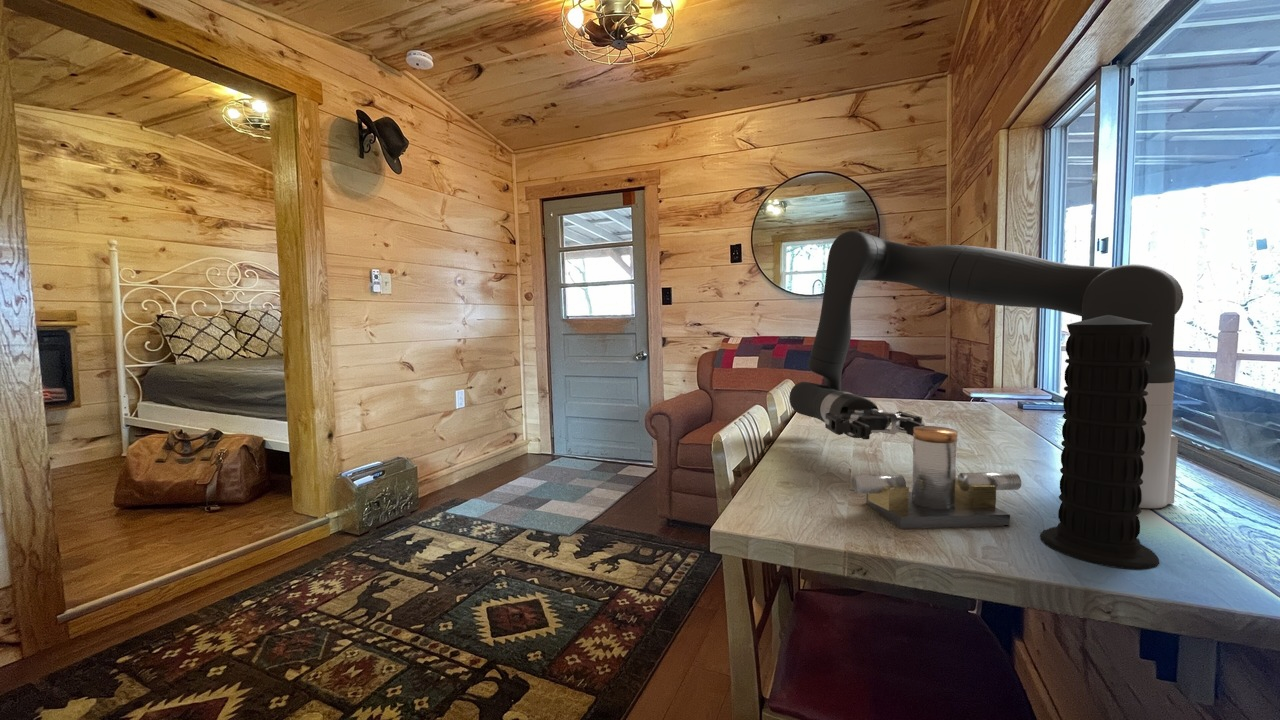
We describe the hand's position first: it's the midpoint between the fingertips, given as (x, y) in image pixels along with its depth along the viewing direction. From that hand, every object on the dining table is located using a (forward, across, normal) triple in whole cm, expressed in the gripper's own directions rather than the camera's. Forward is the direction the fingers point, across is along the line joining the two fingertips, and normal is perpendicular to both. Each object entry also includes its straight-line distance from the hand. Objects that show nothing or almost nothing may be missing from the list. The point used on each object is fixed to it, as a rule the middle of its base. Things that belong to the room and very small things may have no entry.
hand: (895, 432), depth 77 cm
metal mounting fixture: (+10, 0, +9) cm, 13 cm away
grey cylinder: (+10, 0, +8) cm, 12 cm away
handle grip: (+21, +12, +9) cm, 26 cm away
